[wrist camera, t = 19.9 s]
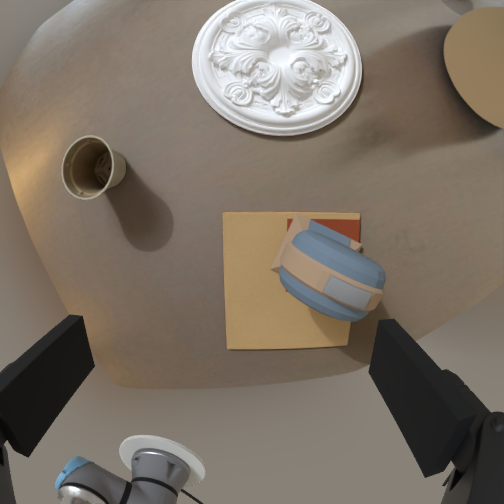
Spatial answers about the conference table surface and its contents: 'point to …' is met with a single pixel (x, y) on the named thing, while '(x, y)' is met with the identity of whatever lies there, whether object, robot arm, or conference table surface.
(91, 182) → the flower pot
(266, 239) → the mat
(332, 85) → the ceiling medallion
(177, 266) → the conference table surface
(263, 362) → the conference table surface
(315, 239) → the alarm clock
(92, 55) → the conference table surface
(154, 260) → the conference table surface
